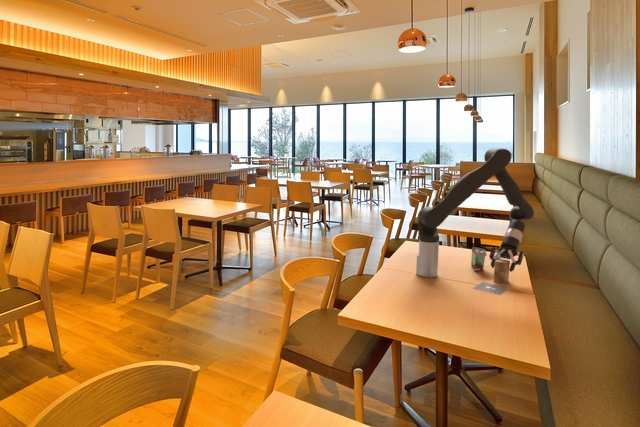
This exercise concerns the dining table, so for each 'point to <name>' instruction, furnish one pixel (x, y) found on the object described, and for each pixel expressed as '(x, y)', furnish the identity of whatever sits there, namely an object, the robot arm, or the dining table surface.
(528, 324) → the dining table surface
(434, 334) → the dining table surface
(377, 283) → the dining table surface
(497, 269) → the walnut block
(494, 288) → the tile
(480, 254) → the food container
